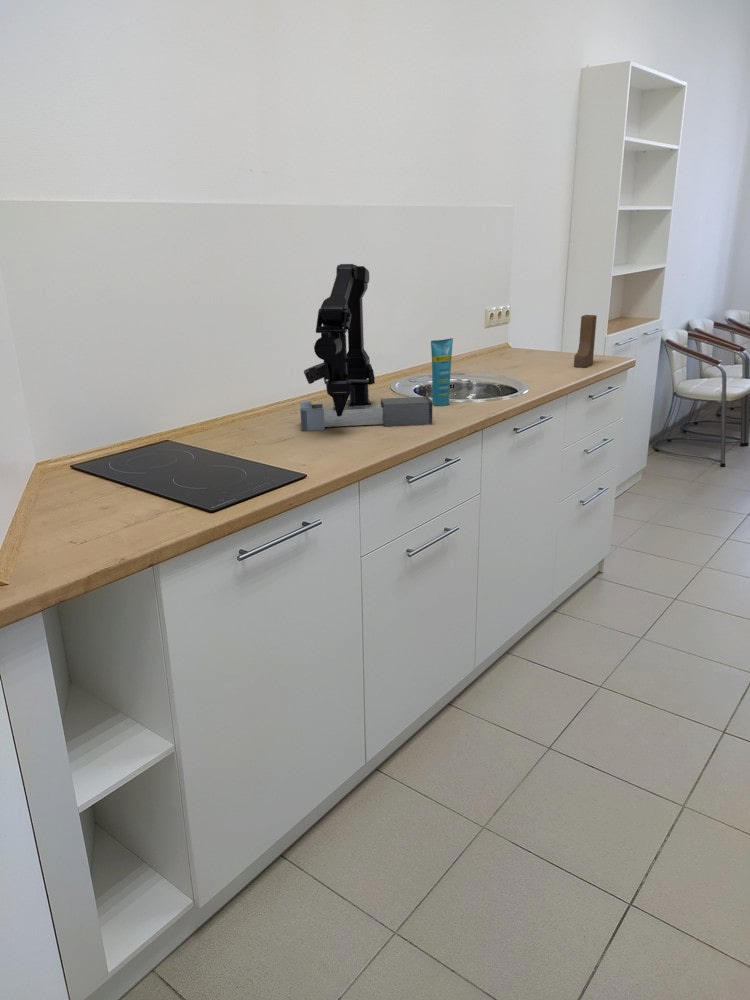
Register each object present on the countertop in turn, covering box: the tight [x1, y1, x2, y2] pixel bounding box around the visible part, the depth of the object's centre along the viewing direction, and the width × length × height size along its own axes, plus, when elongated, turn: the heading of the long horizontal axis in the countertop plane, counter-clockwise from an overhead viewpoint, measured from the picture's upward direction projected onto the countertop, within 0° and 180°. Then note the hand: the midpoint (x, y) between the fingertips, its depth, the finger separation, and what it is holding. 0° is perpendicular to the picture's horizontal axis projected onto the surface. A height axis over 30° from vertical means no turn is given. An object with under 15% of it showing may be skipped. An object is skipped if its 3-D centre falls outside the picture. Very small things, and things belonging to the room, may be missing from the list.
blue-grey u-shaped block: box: [299, 400, 325, 432], centre depth 196 cm, size 8×6×6 cm
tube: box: [430, 337, 454, 407], centre depth 216 cm, size 7×5×19 cm, turn 123°
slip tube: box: [312, 404, 384, 428], centre depth 198 cm, size 4×22×4 cm, turn 97°
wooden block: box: [573, 314, 598, 369], centre depth 270 cm, size 9×4×18 cm, turn 147°
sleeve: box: [380, 396, 433, 427], centre depth 199 cm, size 7×13×6 cm, turn 97°
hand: (338, 412), depth 197 cm, fingers open, 9 cm apart
